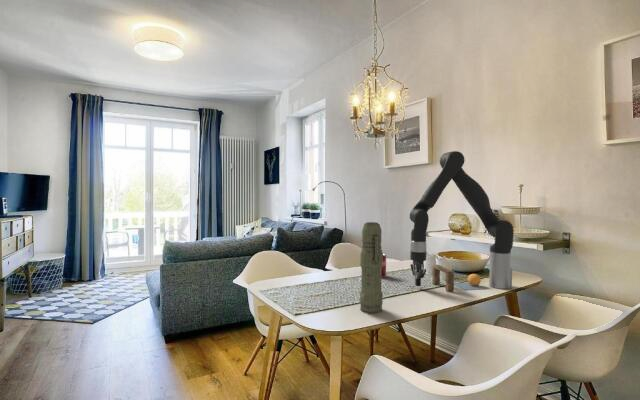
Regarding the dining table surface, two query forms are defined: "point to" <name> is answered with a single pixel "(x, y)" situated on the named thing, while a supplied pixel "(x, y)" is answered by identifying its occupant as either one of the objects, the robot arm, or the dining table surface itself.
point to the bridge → (448, 277)
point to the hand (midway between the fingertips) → (417, 285)
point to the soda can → (383, 270)
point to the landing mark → (468, 286)
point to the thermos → (371, 269)
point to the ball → (474, 280)
